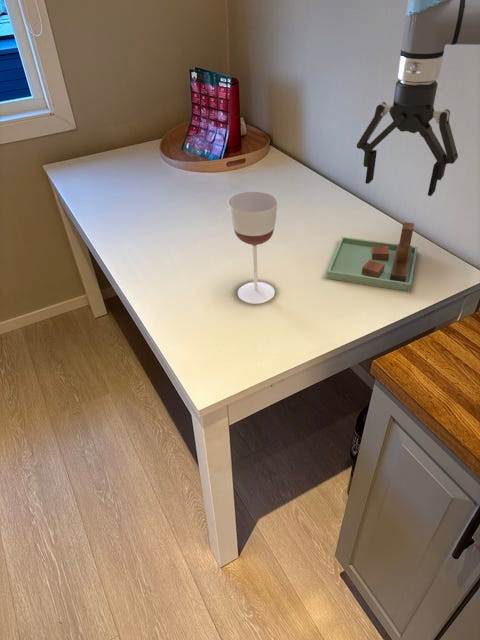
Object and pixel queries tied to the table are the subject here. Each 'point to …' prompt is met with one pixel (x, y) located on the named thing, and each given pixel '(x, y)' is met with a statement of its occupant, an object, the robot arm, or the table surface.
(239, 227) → the wineglass
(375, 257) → the chip
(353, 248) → the tray
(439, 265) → the table surface
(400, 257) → the brown piece
